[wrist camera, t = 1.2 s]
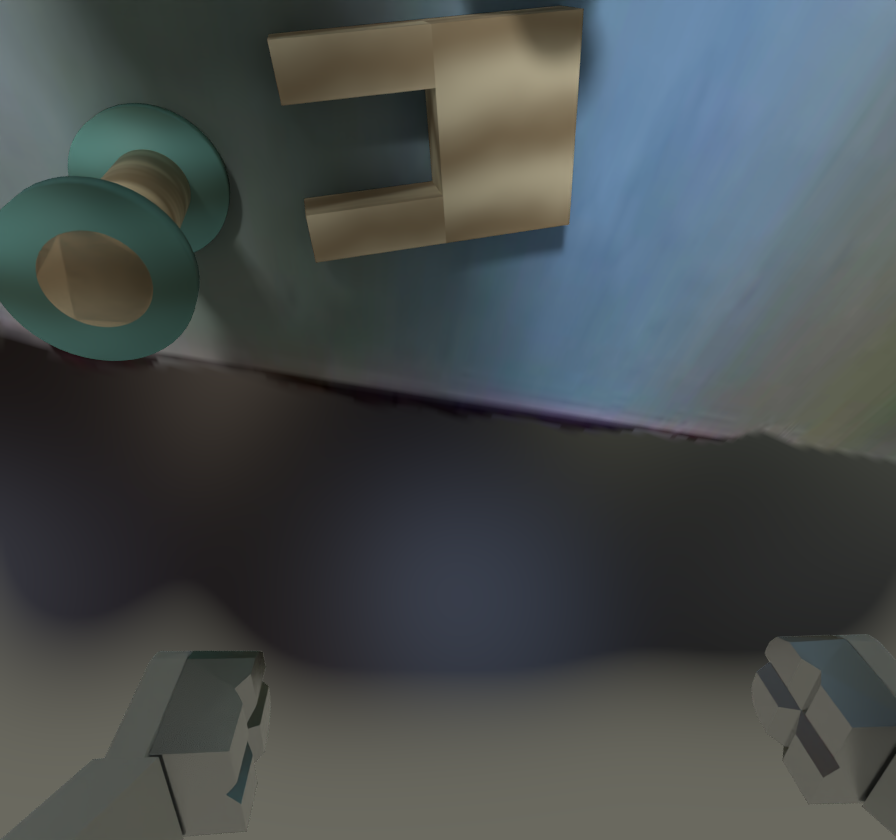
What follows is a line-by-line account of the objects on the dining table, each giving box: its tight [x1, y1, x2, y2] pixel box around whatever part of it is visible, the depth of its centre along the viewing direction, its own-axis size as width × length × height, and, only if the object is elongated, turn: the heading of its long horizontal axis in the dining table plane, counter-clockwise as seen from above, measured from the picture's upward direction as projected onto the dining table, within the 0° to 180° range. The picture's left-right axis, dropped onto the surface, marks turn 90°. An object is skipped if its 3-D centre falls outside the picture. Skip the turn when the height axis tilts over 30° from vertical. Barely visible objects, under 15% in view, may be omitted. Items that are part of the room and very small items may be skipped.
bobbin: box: [0, 103, 230, 361], centre depth 35 cm, size 10×10×17 cm
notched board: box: [267, 6, 584, 262], centre depth 42 cm, size 14×20×4 cm
